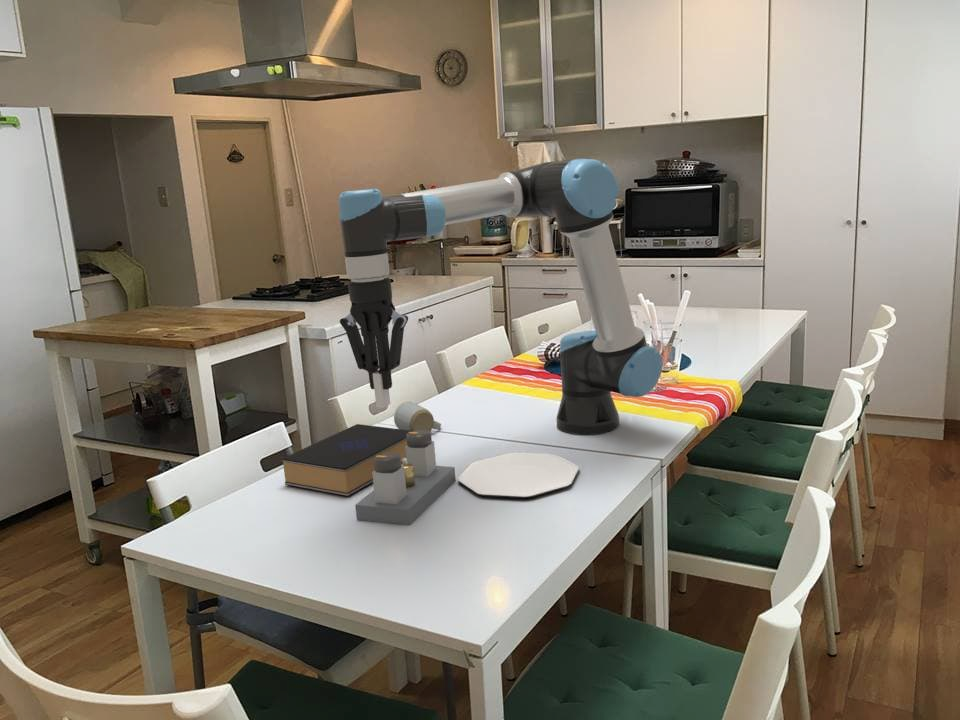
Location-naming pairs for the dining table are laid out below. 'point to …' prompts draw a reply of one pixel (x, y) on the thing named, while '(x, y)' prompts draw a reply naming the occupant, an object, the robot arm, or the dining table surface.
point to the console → (406, 489)
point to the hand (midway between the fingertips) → (383, 405)
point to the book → (343, 459)
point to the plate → (518, 475)
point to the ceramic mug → (414, 418)
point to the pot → (408, 473)
